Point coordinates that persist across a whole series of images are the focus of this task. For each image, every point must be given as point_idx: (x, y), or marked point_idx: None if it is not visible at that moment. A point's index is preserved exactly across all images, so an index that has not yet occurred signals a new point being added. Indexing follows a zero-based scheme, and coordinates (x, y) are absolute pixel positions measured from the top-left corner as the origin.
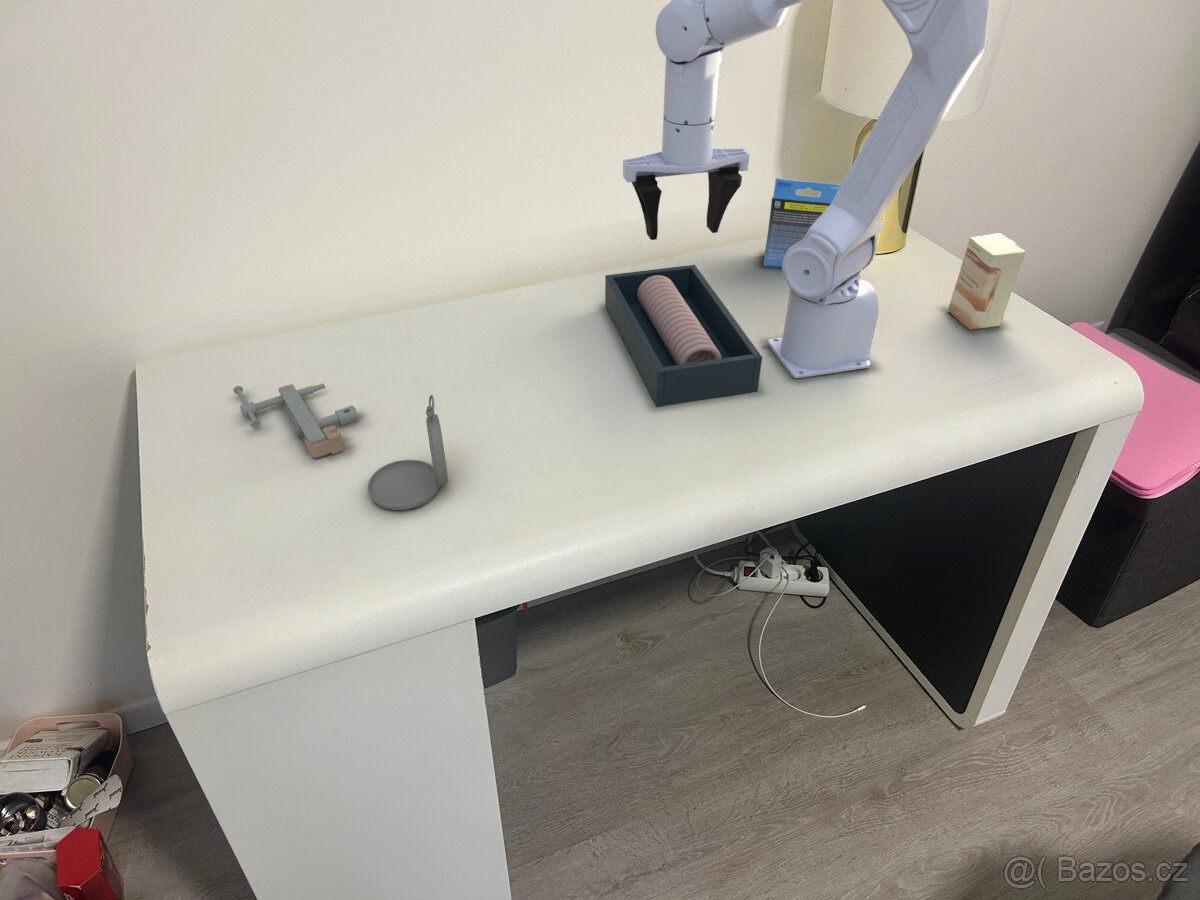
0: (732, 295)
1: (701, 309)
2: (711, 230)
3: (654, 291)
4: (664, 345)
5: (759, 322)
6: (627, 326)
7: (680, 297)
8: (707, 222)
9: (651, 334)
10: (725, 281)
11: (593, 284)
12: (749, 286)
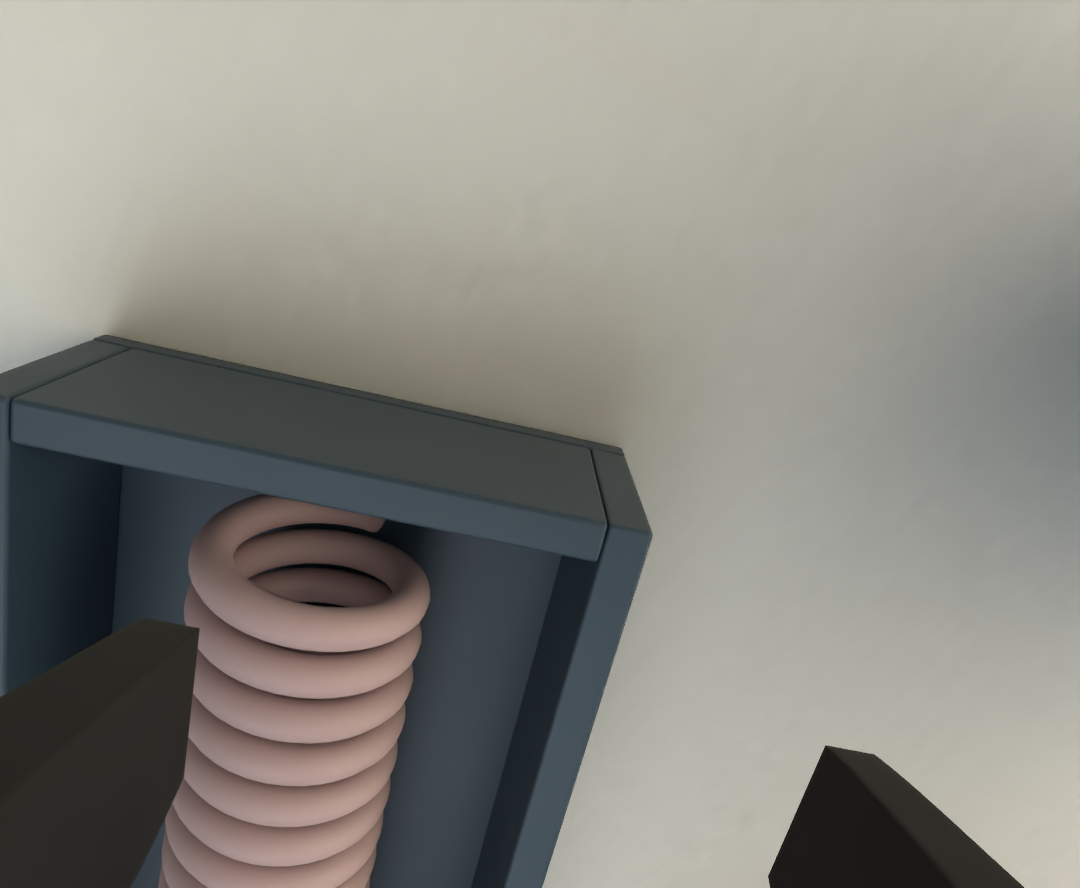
0: (815, 530)
1: (535, 671)
2: (783, 865)
3: (201, 748)
4: None
5: (750, 771)
6: None
7: (321, 854)
8: (840, 790)
9: None
10: (893, 385)
11: (123, 11)
12: (961, 492)
